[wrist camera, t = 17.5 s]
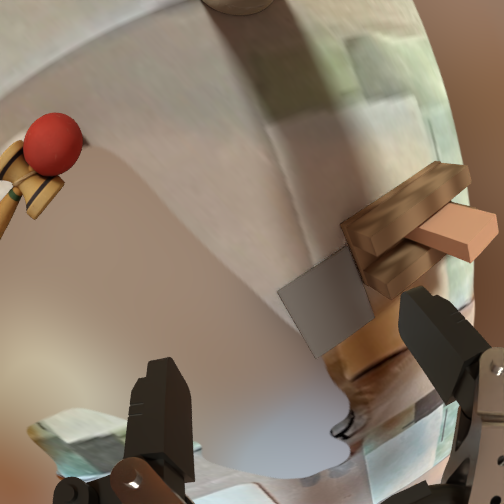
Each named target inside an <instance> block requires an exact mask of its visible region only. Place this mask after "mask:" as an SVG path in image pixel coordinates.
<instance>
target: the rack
mask: <svg viewBox="0 0 504 504" xmlns="http://www.w3.org/2000/svg"><path fill="white" fill-rule="evenodd" d="M471 182H472V181H471V177H470V173H469V169H468V166H466V165H458V164H448V163H441V162H440V161H434V162H433V163H431V164H430V165H428V166H427V167H425V168H424V169H422V170H421V171H419V172H418V173H416V174H415V175H414V176H412V177H411V178H409V179H408V180H406V181H405V182H403V183H402V184H400V185H399V186H397V187H396V188H394V189H393V190H391V191H390V192H388V193H387V194H385V195H384V196H382V197H381V198H379V199H378V200H376V201H375V202H373V203H372V204H370V205H369V206H367V207H366V208H364V209H363V210H361V211H359V212H358V213H356V214H355V215H353V216H352V217H350V218H349V219H347V220H346V221H344V222H343V223H341V224H340V226H341V228H342V230H343V233H344V235H345V238H346V240H347V242H348V245H349V247H350V250H351V252H352V255H353V257H354V260H355V262H356V265H357V267H358V270H359V272H360V275H361V277H362V280H363V283H364V284H366V285H367V286H370V287H372V288H374V289H375V290H377V291H378V292H380V293H381V294H383V295H384V296H386V297H388V298H389V299H391V300H392V299H394V298H395V297H396V296H397V295H399V294H400V293H401V292H402V291H404V290H405V289H406V288H407V287H409V286H410V285H411V284H412V283H413V282H415V281H416V280H417V279H418V278H420V277H421V276H422V275H423V274H424V273H425V272H427V271H428V270H429V269H430V268H431V267H432V266H434V265H435V264H436V263H437V262H438V261H439V260H441V259H442V258H443V257H444V256H445V255H446V254H447V253H444V252H442V251H439V250H437V249H434V248H431V247H429V246H426V245H424V244H421V243H418V242H416V241H413V240H410V239H408V238H405V237H404V236H406V235H407V234H408V233H410V232H411V231H412V230H414V229H415V228H416V227H418V226H419V225H420V224H421V223H423V222H424V221H425V220H426V219H428V218H429V217H430V216H432V215H433V214H434V213H435V212H437V211H438V210H439V209H440V208H442V207H443V206H444V205H445V204H447V203H452V204H456V205H460V206H465V207H469V208H473V209H477V208H475V207H471V206H467V205H462V204H458V203H454V202H452V201H451V199H453V198H454V197H455V196H456V195H457V194H459V193H460V192H461V191H462V190H464V189H465V188H466V187H467V186H468V185H469V184H470V183H471Z"/></svg>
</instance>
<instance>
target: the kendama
mask: <svg viewBox="0 0 504 504" xmlns="http://www.w3.org/2000/svg"><path fill="white" fill-rule="evenodd" d="M82 144H83V137H82V133H81V130H80V128H79V126H78V124H77V123H76V122H75V121H74V119H72V118H71V117H69V116H67V115H65V114H62V113H49V114H45V115H43V116H42V117H40V118H39V119H37V120H36V121H35V122H34V123H33V124H32V125H31V126H30V128H29V129H28V131H27V133H26V136H25V139H24V142H23V141H22V140H19V141H16V142H15V143H13V144H12V145H11V146H10V147H9V148H8V149H7V150H6V151H5V152H4V153H3V154H2V155H1V157H0V180H5V181H9V182H11V183H13V184H12V185H13V188H12V189H11V190H10V191H9V192H8V193H7V195H6V196H5V197H4V198H3V199H2V201H1V202H0V239H1V237H2V235H3V233H4V231H5V229H6V228H7V226H8V224H9V222H10V220H11V218H12V216H13V214H14V212H15V210H16V207H17V205H18V203H19V201H20V199H21V197H22V195H23V196H24V198H25V201H26V208H27V209H26V210H27V214H28V215H29V216H30V217H31V218H33V219H34V220H35V219H37V218H38V216H39V215H40V214H41V213H42V212H43V210H44V209H45V208H46V207H47V205H48V204H49V203H50V202H51V201H52V199H53V198H54V197H55V196H56V195H57V193H58V192H59V191H60V190H61V188H62V187H63V186H64V183H65V182H64V181H63V180H62V179H61V178H60V177H59V176H58V175H59V174H62V173H64V172H65V171H67V170H69V169H70V168H71V167H72V166H73V165H74V164H75V162H76V161H77V159H78V158H79V155H80V153H81V150H82Z"/></svg>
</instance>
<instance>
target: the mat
mask: <svg viewBox="0 0 504 504" xmlns="http://www.w3.org/2000/svg"><path fill="white" fill-rule="evenodd" d="M277 292H278V294H279V296H280V298H281V299H282V301H283V303H284V305H285V306H286V308H287V310H288V312H289V313H290V315H291V317H292V319H293V320H294V322H295V324H296V326H297V327H298V329H299V331H300V333H301V334H302V336H303V338H304V340H305V341H306V343H307V345H308V347H309V348H310V350H311V352H312V354H313V355H314V357H315V359H317V358H319V357H320V356H322V355H323V354H325V353H326V352H327V351H329V350H330V349H332V348H333V347H335V346H336V345H338V344H339V343H341V342H342V341H343V340H345V339H346V338H348V337H349V336H350V335H352V334H353V333H355V332H356V331H357V330H359V329H360V328H362V327H363V326H364V325H366V324H367V323H368V322H370V321H371V320H372V319H374V318H375V316H374V313H373V311H372V308H371V305H370V302H369V300H368V297H367V294H366V292H365V289H364V286H363V284H362V281H361V279H360V276H359V273H358V271H357V268H356V266H355V263H354V261H353V258H352V256H351V253H350V251H349V249H348V247H347V246H345V247H343V248H342V249H341V250H339V251H338V252H336V253H335V254H333V255H332V256H330V257H329V258H327V259H326V260H324V261H323V262H321V263H320V264H318V265H317V266H315V267H313V268H312V269H310V270H309V271H307V272H306V273H304V274H303V275H301V276H300V277H298V278H297V279H295V280H294V281H292V282H290V283H289V284H287V285H286V286H284V287H283V288H281V289H280V290H278V291H277Z"/></svg>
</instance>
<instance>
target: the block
mask: <svg viewBox="0 0 504 504" xmlns="http://www.w3.org/2000/svg"><path fill="white" fill-rule="evenodd" d="M498 233H499V232H498V226H497V218H496V214H492V213H488V212H485V211H480V210H477V209H473V208H469V207H465V206H460V205H456V204H452V203H447V204H445V205H444V206H443V207H442V208H440V209H439V210H438V211H437V212H435V213H434V214H433V215H432V216H430V217H429V218H428V219H426V220H425V221H424V222H423V223H421V224H420V225H419V226H418V227H416V228H415V229H414V230H412V231H411V232H410V233H408V234H407V235H406V236H404V237H405V238H408V239H410V240H413V241H416V242H418V243H421V244H424V245H426V246H429V247H431V248H434V249H437V250H439V251H442V252H444V253H447V254H449V255H452V256H454V257H457V258H459V259H462V260H464V261H466V262H469V263H471V262H472V261H473V260H474V259H475V258H476V257H477V256H478V255H479V254H480V253H481V252H482V251H483V250H484V249H485V247H486V246H487V245H488V244H489V243H490V242H491V241H492V240H493V239H494V237H495V236H496V235H497V234H498Z"/></svg>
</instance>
